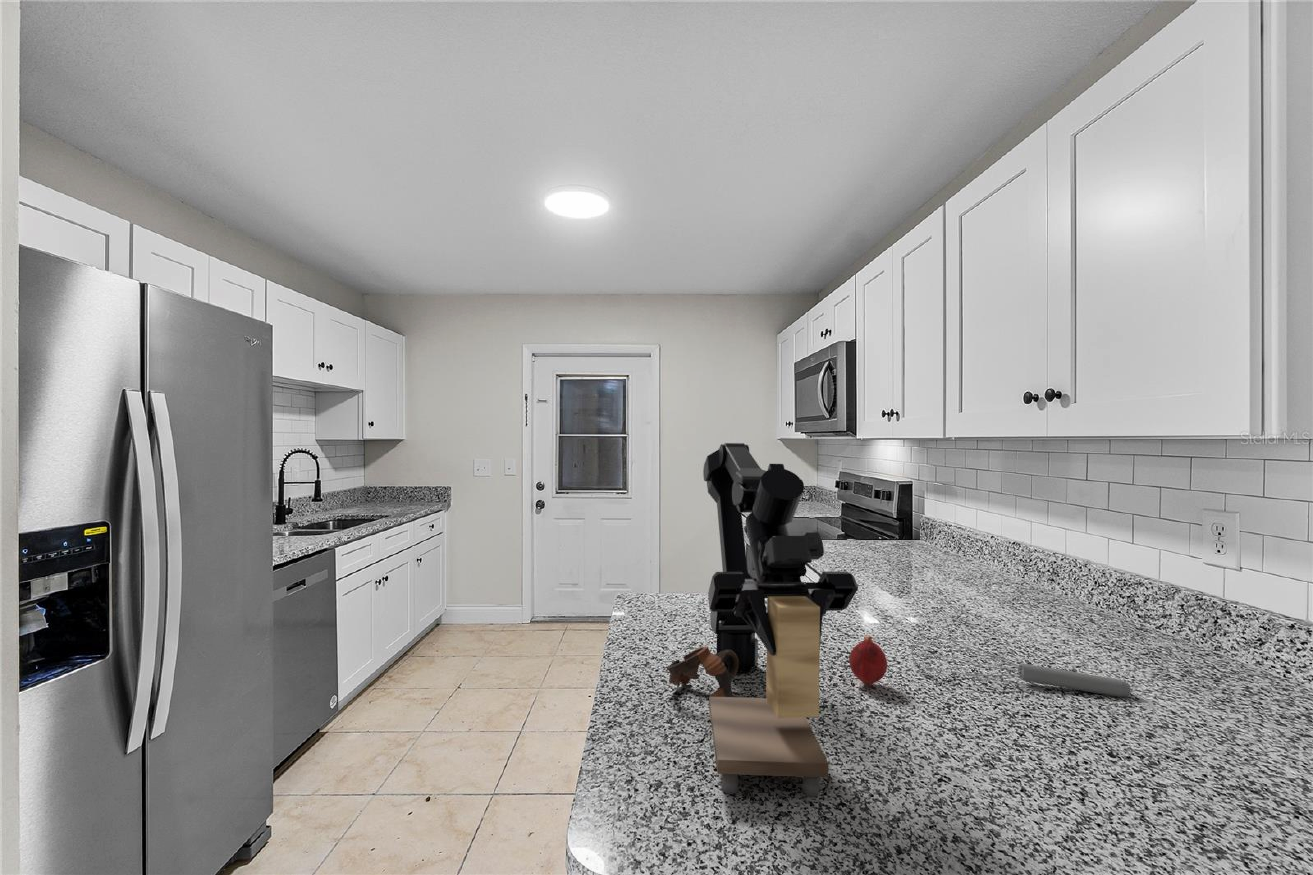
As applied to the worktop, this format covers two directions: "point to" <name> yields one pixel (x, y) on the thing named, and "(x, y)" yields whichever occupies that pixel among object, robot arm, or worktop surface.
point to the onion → (868, 661)
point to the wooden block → (793, 657)
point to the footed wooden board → (763, 744)
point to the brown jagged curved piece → (706, 669)
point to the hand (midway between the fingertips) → (795, 653)
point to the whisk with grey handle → (1046, 675)
